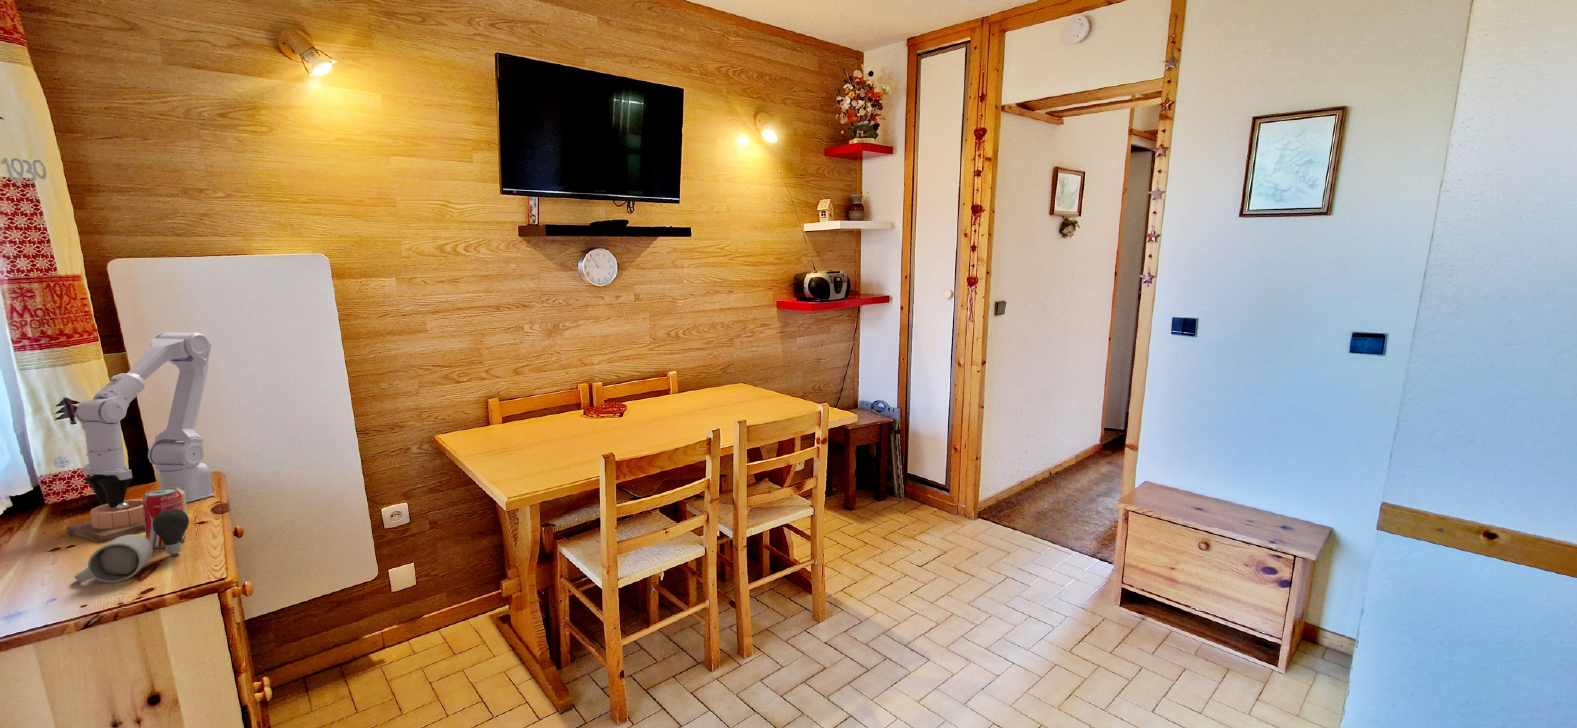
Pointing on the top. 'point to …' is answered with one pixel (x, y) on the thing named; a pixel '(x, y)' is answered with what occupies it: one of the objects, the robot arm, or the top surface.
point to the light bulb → (171, 529)
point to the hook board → (104, 531)
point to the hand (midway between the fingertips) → (111, 505)
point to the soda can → (159, 510)
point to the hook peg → (122, 506)
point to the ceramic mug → (118, 559)
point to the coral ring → (117, 515)
